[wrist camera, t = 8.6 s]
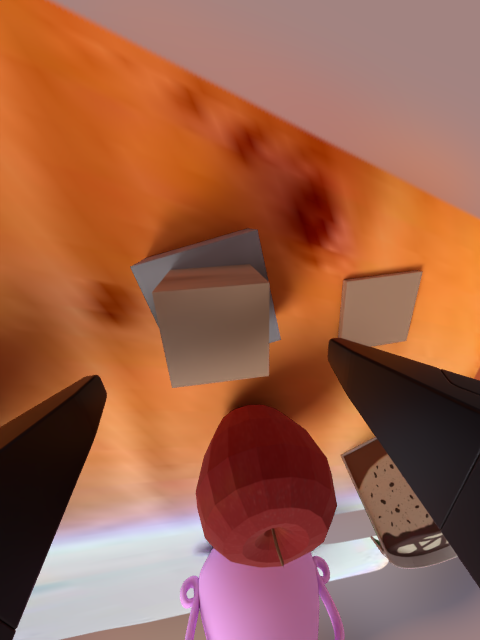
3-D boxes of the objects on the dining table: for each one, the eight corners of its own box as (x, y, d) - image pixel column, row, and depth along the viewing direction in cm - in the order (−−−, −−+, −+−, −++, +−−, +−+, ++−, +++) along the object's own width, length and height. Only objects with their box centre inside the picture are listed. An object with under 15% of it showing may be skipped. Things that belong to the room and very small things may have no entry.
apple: (304, 377, 23) (385, 505, 13) (291, 448, 28) (344, 588, 17) (197, 383, 22) (187, 534, 11) (201, 457, 26) (196, 618, 15)
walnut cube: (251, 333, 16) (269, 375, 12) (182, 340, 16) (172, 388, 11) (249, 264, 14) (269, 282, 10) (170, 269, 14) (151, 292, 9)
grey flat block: (267, 319, 21) (280, 339, 17) (184, 344, 20) (179, 370, 17) (246, 228, 17) (257, 229, 14) (146, 257, 17) (130, 266, 13)
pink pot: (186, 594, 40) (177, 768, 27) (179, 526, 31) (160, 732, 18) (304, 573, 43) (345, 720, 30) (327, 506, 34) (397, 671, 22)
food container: (346, 481, 32) (400, 583, 23) (330, 460, 30) (385, 565, 21) (425, 440, 31) (517, 532, 22) (416, 415, 28) (515, 505, 19)
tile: (401, 338, 23) (406, 340, 22) (336, 348, 22) (340, 351, 22) (416, 270, 20) (422, 271, 20) (343, 280, 20) (347, 281, 19)
